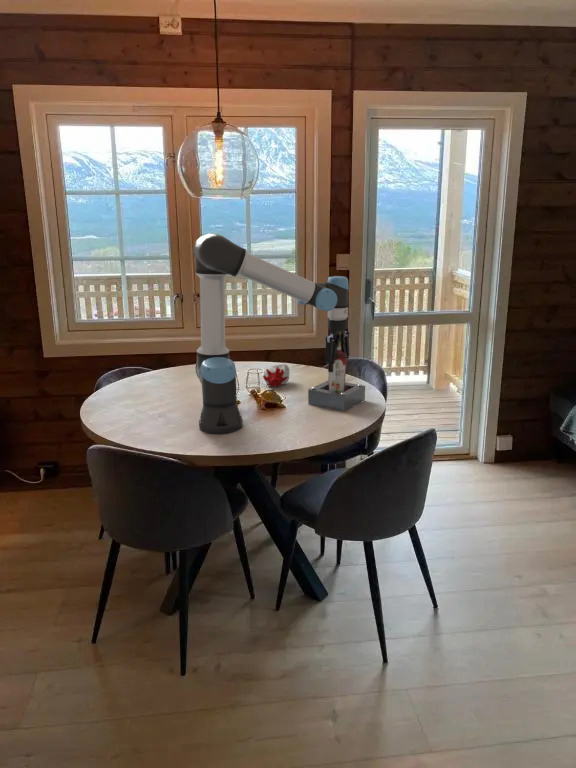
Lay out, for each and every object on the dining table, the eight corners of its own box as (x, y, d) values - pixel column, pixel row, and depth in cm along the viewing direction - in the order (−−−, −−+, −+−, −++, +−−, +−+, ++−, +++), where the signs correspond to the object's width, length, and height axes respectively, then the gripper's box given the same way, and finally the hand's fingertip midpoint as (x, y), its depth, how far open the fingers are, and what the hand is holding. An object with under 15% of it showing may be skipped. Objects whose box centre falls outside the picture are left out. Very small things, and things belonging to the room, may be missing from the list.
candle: (289, 379, 258) (289, 393, 244) (264, 379, 258) (262, 393, 244) (289, 360, 254) (288, 373, 241) (263, 360, 255) (261, 373, 241)
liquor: (327, 405, 225) (328, 333, 217) (326, 399, 232) (327, 329, 224) (347, 405, 225) (348, 333, 217) (344, 399, 232) (346, 329, 224)
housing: (344, 411, 218) (344, 394, 216) (308, 404, 227) (308, 387, 225) (364, 400, 230) (365, 384, 228) (329, 393, 239) (330, 378, 237)
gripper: (332, 323, 209) (331, 385, 216) (359, 315, 225) (358, 373, 231) (314, 321, 213) (314, 382, 220) (342, 313, 229) (341, 370, 235)
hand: (337, 377), depth 226 cm, fingers closed on liquor, 7 cm apart
